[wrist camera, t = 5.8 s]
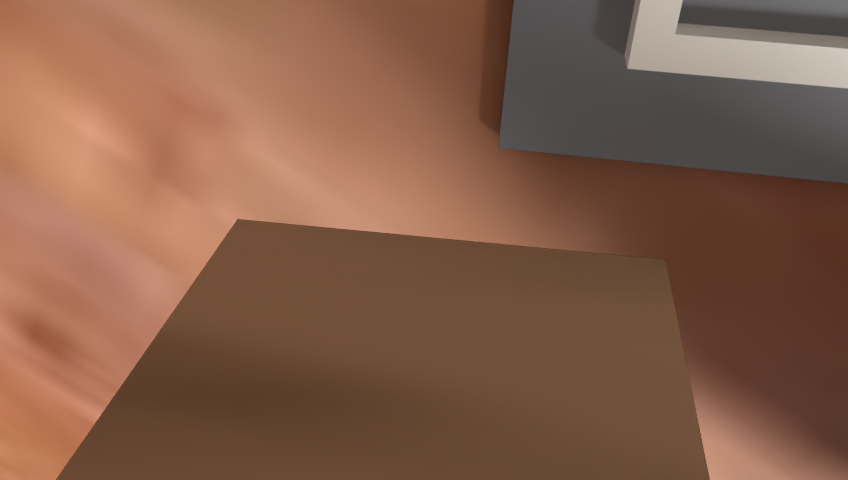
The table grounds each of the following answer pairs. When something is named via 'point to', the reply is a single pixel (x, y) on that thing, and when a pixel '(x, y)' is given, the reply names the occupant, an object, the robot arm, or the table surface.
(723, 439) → the table surface
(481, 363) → the walnut block
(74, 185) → the table surface
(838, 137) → the square panel
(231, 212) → the table surface
